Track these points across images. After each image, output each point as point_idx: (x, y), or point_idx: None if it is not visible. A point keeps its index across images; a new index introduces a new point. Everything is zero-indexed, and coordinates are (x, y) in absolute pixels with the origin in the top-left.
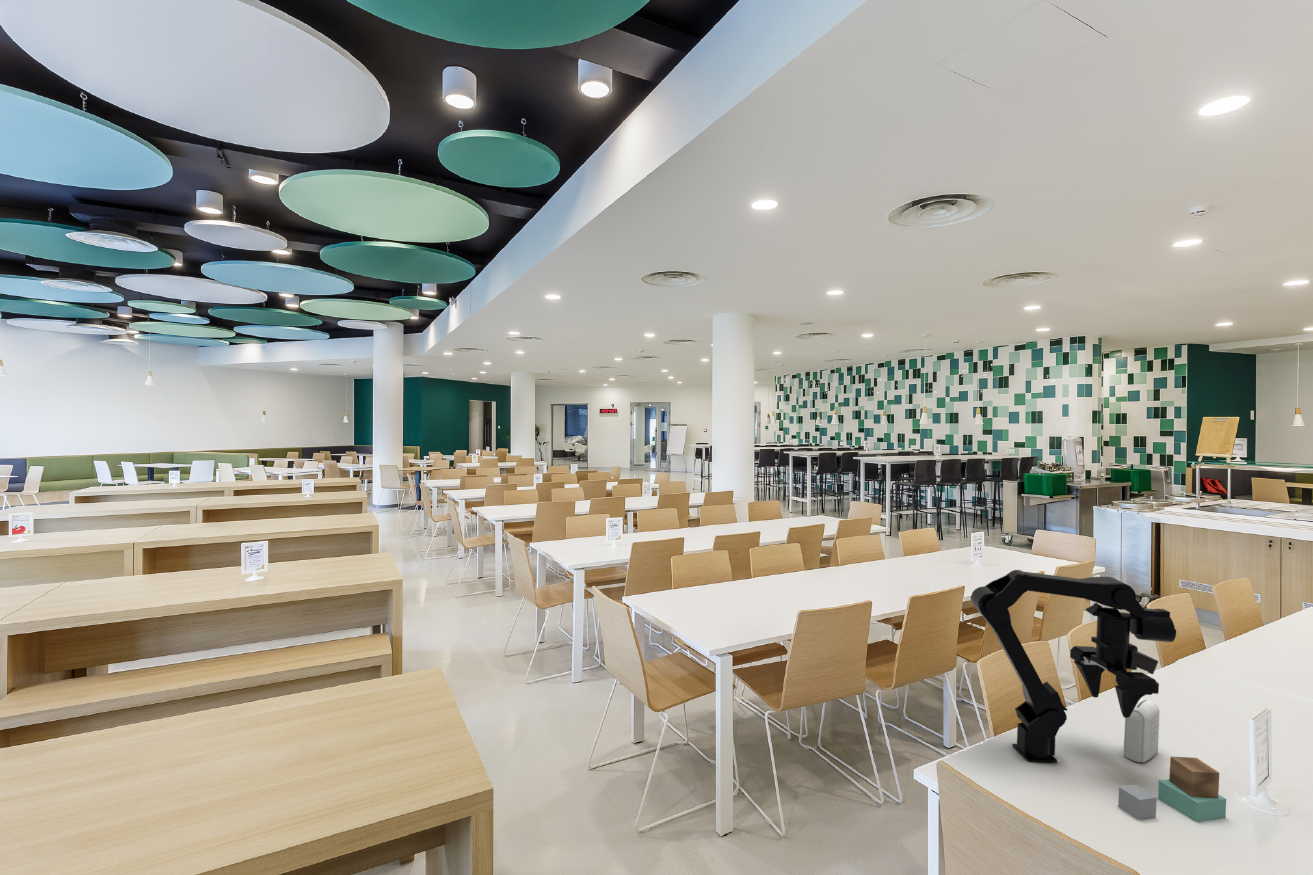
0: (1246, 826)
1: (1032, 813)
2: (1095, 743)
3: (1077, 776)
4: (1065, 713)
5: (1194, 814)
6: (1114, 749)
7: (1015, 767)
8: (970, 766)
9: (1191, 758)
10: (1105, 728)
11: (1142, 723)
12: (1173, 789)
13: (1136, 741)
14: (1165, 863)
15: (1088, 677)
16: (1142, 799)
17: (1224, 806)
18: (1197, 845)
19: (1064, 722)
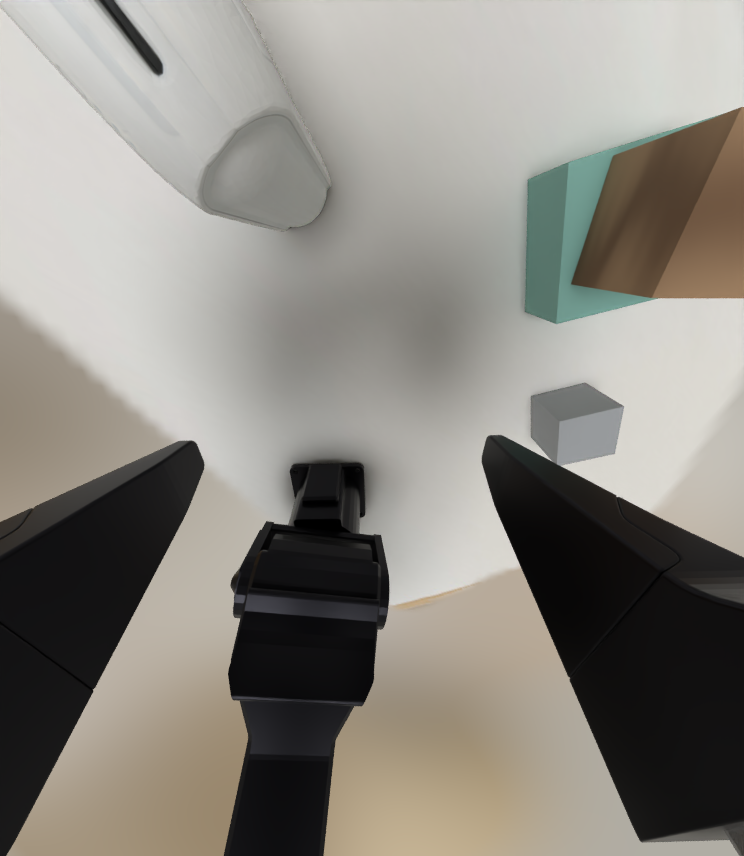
0: (733, 87)
1: (515, 565)
2: (209, 282)
3: (416, 451)
4: (379, 589)
5: None
6: (235, 230)
7: (386, 538)
8: None
9: (723, 166)
10: (8, 110)
11: (287, 134)
12: (607, 310)
13: (307, 197)
14: (684, 463)
15: (107, 634)
16: (614, 446)
17: None
18: (690, 363)
19: (371, 552)
